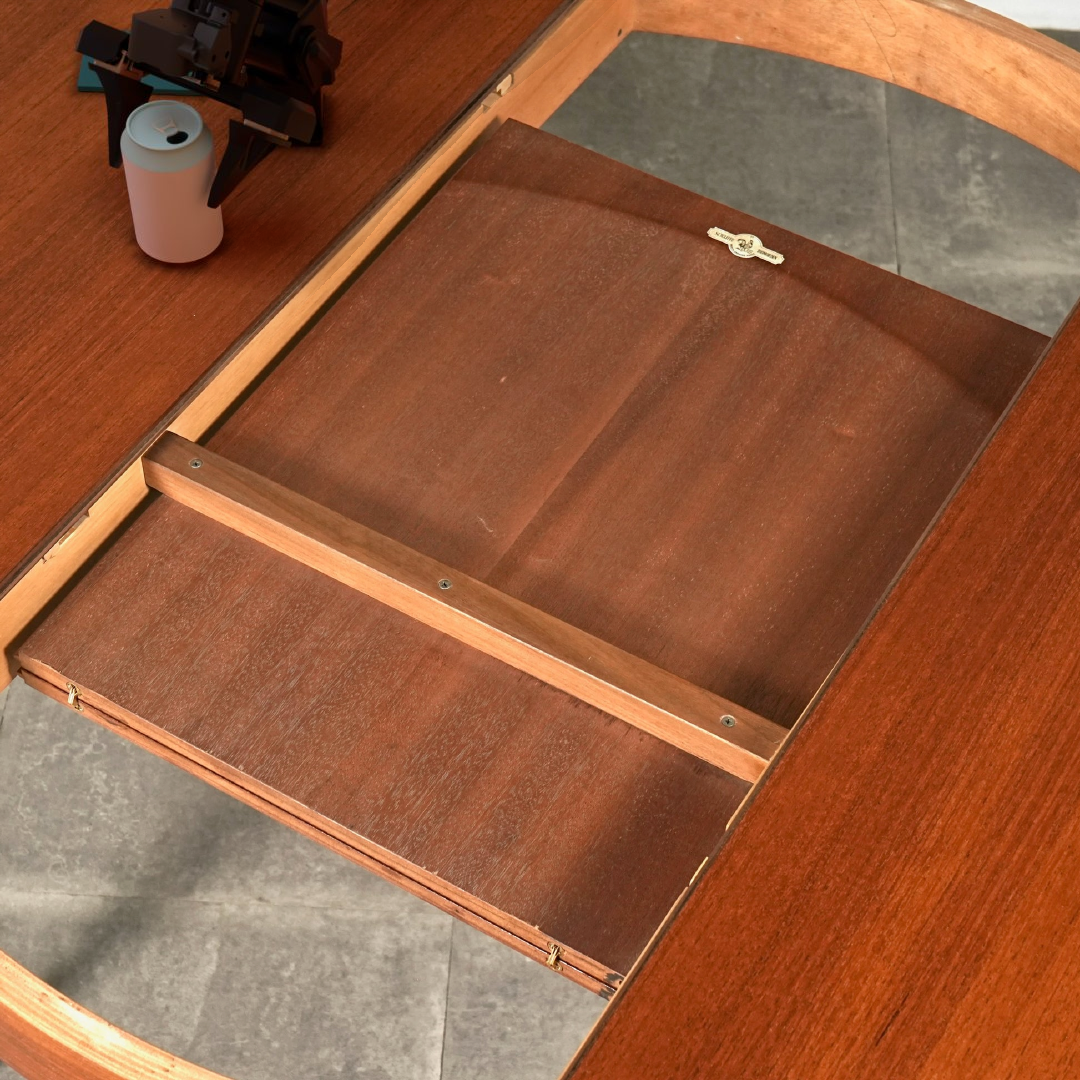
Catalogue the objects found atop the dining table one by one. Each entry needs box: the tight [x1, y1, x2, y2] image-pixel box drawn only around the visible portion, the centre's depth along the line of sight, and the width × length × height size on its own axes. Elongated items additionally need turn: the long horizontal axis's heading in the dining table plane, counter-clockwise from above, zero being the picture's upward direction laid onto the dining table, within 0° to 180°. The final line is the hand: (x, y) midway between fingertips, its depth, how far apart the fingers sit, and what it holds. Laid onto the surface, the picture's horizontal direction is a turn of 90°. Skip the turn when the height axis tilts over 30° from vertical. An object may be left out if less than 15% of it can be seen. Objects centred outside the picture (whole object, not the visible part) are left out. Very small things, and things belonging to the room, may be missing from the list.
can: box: [120, 99, 224, 264], centre depth 126 cm, size 7×7×12 cm
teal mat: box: [76, 29, 206, 97], centre depth 143 cm, size 11×8×1 cm
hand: (162, 187), depth 125 cm, fingers open, 9 cm apart
